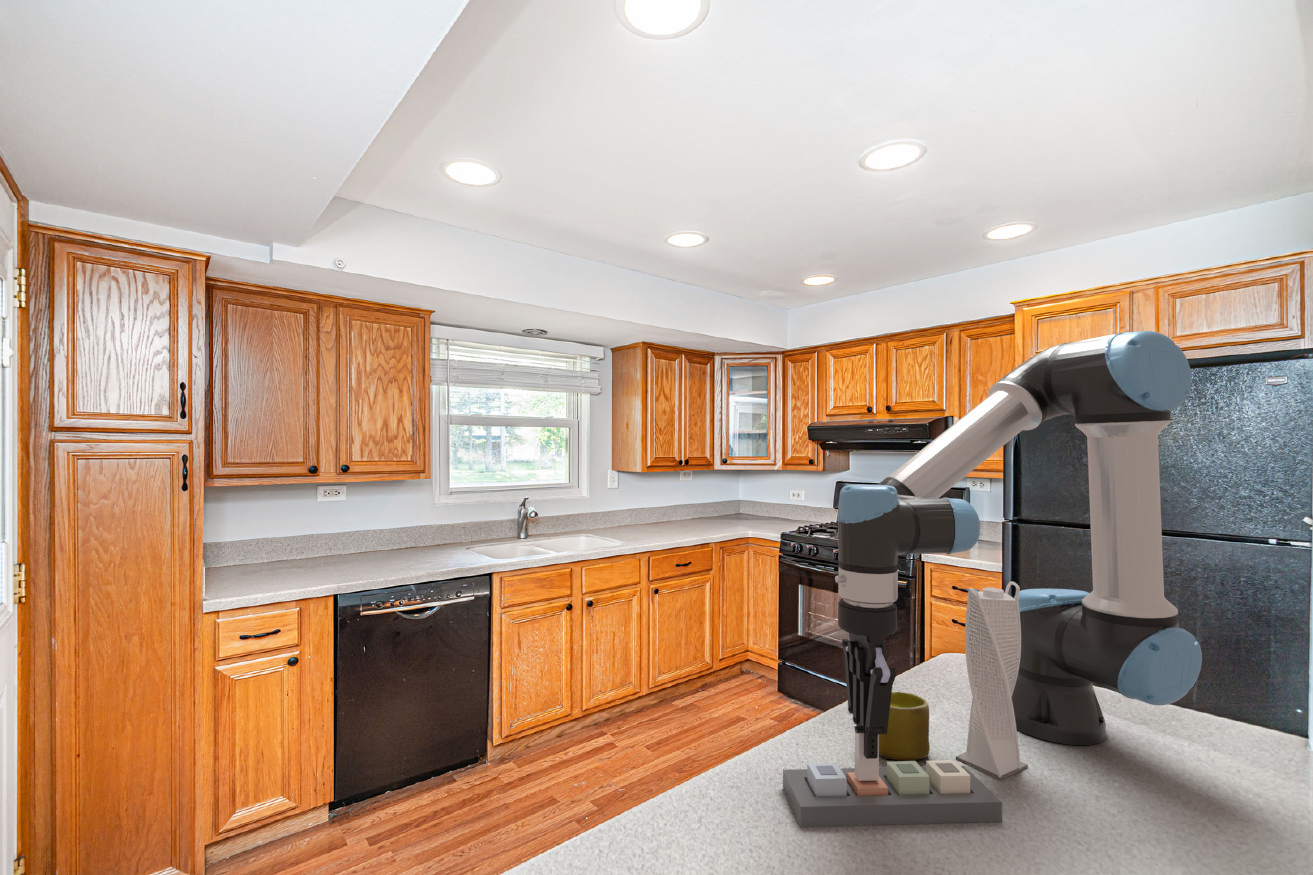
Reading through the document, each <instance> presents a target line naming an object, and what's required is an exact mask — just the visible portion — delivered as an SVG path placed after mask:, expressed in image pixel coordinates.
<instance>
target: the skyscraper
mask: <svg viewBox="0 0 1313 875" xmlns="http://www.w3.org/2000/svg"><path fill="white" fill-rule="evenodd" d="M1011 586H1014V587H1015V594H1014V596H1015V599H1014V597H1013V596H1012V595H1010V594H1009V593H1010V592H1009V591H1010V589H1011ZM1020 589H1021V588H1020V586H1019V585H1018V583H1016V582H1015V581H1014V580H1013V581H1009V582H1008V583H1007V585H1006V587H1005V591H1004V589H1002V588H996V587H983V588H982V591H980V590H979V591H977V590H976V589H975V588H973V587H972V586H971V587H969V589H968V591H967V592H968V593H967V602H966V613H965V629H964V631H965V632H964V646H965V647H964V650H965V652H964V653H965V662H966V669H967V675H968V681H969V687H970V691H971V695H972V698H971V706H970V707H971V708H970V714H969V721H968V731H967V732H968V733H967V740H966V741H967V743H966V751H965V752H962V753H960V754H957V755H956V756H955V760H957V761H959V762H961V763H963V764H965V765H967V766H970V767H971V768H974V769H976V770H978V771H980V772H983V773H984V774H987V775H988V776H991V777H993V778H995V779H997V780H998V781H999V780H1000V781H1002V780H1004V779H1006V778H1008V777H1010V776H1012V775H1015V774H1017V773H1019V772H1021V771H1023V770H1025V769H1027V768H1028V767H1029V766H1028V763H1026V762H1023V761H1021V756H1020V747H1019V740H1018V739H1019V738H1018V737H1019V736H1018V730H1017V729H1016V721H1015V715H1014V709H1013V703H1012V698H1011V697H1012V694H1013V691H1014V687H1015V684H1016V680H1017V675H1018V670H1019V665H1020V657H1021V623H1020V611H1019V601H1018V600H1019V591H1021V590H1020Z"/></svg>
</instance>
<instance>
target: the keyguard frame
mask: <svg viewBox="0 0 1313 875" xmlns="http://www.w3.org/2000/svg"><path fill="white" fill-rule="evenodd" d="M960 766H961V767H962V768H963V769H964V770H965V771H966V772H967V773H968V774H969V775H970V793H964V794H939V793H938V792H937V791H936V790H935V789H934V788H933V787H932V786H931V784H930V783H929V794H922V795H897V794H896V792H895V791H894V790H893V788H892V787H891V786H890V784H889V783H888V782H887V766H886V767H879V776H880V778H881V779H882V780H883V782H884V783H885V784H886V786H887V787H888V795H879V796H856V795H855V794H854V792H853V791H852V789H851V787H850V786H849V784H848V783H847V796H837V797H814V796H813V794H812V792H811V790H810V788H809V786H808V784H807V768H799V769H796V768H795V769H783V770H782V789H783V791H784V793H785V795H786V797H787V800H788V802H789V804H790V806H791V809H792V811H793V814H794V816H795V817H796V820H797V822H798V825H799V827H800V828H808V827H811V828H813V827H847V826H848V827H849V826H850V827H851V826H877V825H878V826H879V825H880V826H882V825H884V826H885V825H886V826H887V825H888V826H889V825H919V824H920V825H921V824H922V825H923V824H961V823H962V824H963V823H964V824H965V823H969V824H970V823H991V822H992V823H998V822H999V823H1002V822H1003V801H1002V800H1000V798H998V797H997V795H995V794H994V793H993V792H992V791H991V790H990V789H989V787H987V786H986V785H985V784H984V783H983V782H982V781H980V779H978V777H976V775H975V774H973V773H972V772H971V771H970V770H969V769H968V768H967V767H966V766H965V765H960ZM920 767H921V768H922V769H923V770H924V771H925V772H926V766H920ZM840 769H841V770H842V772H843V773H844V775H845V777H846V778H847V772H855V767H853V768H852V767H849V768H847V767H846V768H845V767H844V768H842V767H840Z"/></svg>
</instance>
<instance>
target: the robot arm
mask: <svg viewBox="0 0 1313 875" xmlns="http://www.w3.org/2000/svg"><path fill="white" fill-rule="evenodd" d="M1191 386H1192V372H1191V367H1190V364H1189V360H1188V358H1187V356H1186V355H1185V353H1184V352H1183V350H1182V348H1181V347H1180V346H1179V345H1178V344H1176V343H1175V342H1174V340H1173V339H1172V338H1170V337H1168V336H1167V335H1166V334H1164V333H1161V332H1157V331H1153V330H1140V331H1139V330H1138V331H1124V332H1117V333H1114V334H1110V335H1103V336H1100V337H1099V336H1098V337H1093V338H1088V339H1082V340H1079V341H1078V340H1077V341H1072V342H1071V341H1070V342H1064V343H1060V344H1056V345H1053V346H1051V347H1049V348H1046V349H1044V350H1042V351H1040V352H1038V353H1037V354H1034V355H1033V356H1031V357H1030V358H1028V359H1027V360H1025V361H1023V362H1022V363H1020V364H1019V365H1018V366H1017V367H1015V368H1014V369H1012V370H1011V371H1010V372H1008V373H1007V374H1005V375H1004V376H1002V378H1001V379H999V380H997V382H995V383H994V384H992V386H991V387H990V388H989V389H988V391H987V392H988V393H987V397H986V398H985V399H984V400H982V401H981V402H979V404H977V405H976V406H974V407H973V409H971V410H970V411H969V412H967V413H966V414H965V415H963V416H962V417H961V418H960V419H959V420H957V421H956V422H955V423H953V424H952V425H951V426H950V427H948V428H947V429H946V430H944V432H942V433H941V434H939V435H938V436H937V437H936V438H935V439H933V440H932V441H931V442H929V443H928V444H927V445H926V446H924V447H923V448H922V449H921V450H919V451H918V452H917V453H915V454H914V455H913V456H912V457H910V458H909V459H907V461H906V462H904V463H903V464H902V465H900V466H899V467H897V469H895V470H894V471H893V472H892V473H890V474H889V475H887V477H885V478H884V479H883V480H881V481H880V482H879V483H877V484H859V483H858V484H848V485H845V486H843V487H842V488H841V489H840V492H839V499H838V510H837V515H836V516H837V518H836V520H837V530H838V534H837V538H838V540H837V541H838V544H837V545H838V559H837V560H838V575H836V576H835V577H834V580H835V582H836V583H837V584H838V590H837V591H838V592H837V593H838V595H839V596H840V597H841V598H840V599H839V600H838V601H837V625H838V627H839V628H840V630H842V631H843V632H846V633H848V637H849V638H842V639H841V646H842V651H843V655H844V656H843V657H844V668H845V670H844V671H845V685H846V694H847V711H848V713H849V714H850V715H852V722H853V724H854V725H856V726H854V768H855V776H856V778H857V779H858V780H859V781H873V780H879V768H880V761H879V760H880V755H879V734H887V729H888V721H889V712H890V703H891V694H892V692H893V685H894V683H895V679H896V678H897V671H896V668H895V667H894V666H893V667H891V666H888V664H887V661H888V649H887V647H886V639H887V637H890V636H893V635H894V634H896V632H897V631H898V606H897V605H896V604H895V602H897V600H898V598H899V597H898V595H899V592H898V589H899V586H898V584H899V583H898V581H899V579H898V578H899V574H898V573H899V571H898V561H899V556H904V555H932V554H933V555H935V554H937V555H938V554H939V555H940V554H946V555H951V554H956V553H961V552H962V553H963V552H967V551H969V550H971V549H972V548H974V546H976V544H977V542H978V540H979V538H980V535H981V531H980V530H981V527H980V524H981V521H980V518H979V514H978V513H977V510H976V509H975V508H974V506H973V505H972V504H971V503H970V502H968V501H967V500H964V499H962V498H950V497H942V496H944V494H945V493H947V492H948V491H949V490H951V488H953V487H954V486H955V485H957V484H958V483H959V482H960V481H962V480H963V479H964V478H965V477H967V476H968V475H969V474H970V473H971V472H973V471H974V470H975V469H976V468H977V467H979V466H980V465H981V464H982V463H984V462H985V461H986V460H988V459H989V458H990V457H991V456H993V455H994V454H995V453H996V452H997V451H999V450H1000V449H1001V448H1002V447H1004V446H1005V445H1006V444H1007V443H1009V441H1011V440H1013V439H1014V437H1016V436H1017V435H1019V433H1021V432H1022V431H1031V430H1034V429H1036V428H1037V427H1038V426H1039V425H1042V423H1044V422H1045V421H1047V420H1050V419H1053V418H1055V417H1059V416H1064V415H1072V414H1073V415H1074V416H1073V417H1074V426H1075V427H1076V428H1077V429H1078V430H1079V431H1081V432H1082V433H1083V434H1084V435H1085V436H1086V438H1087V440H1086V441H1087V444H1086V446H1087V463H1088V464H1087V467H1088V485H1089V486H1088V491H1089V492H1088V493H1089V513H1090V514H1089V516H1090V518H1089V519H1090V520H1089V521H1090V522H1089V523H1090V543H1091V544H1090V546H1091V568H1092V570H1091V571H1092V573H1091V574H1092V591H1091V592H1088V591H1086V590H1085V591H1084V590H1078V589H1066V588H1029V589H1028V588H1027V589H1022V590H1020V591H1019V600H1018V601H1019V611H1020V623H1021V657H1020V665H1019V670H1018V675H1017V680H1016V684H1015V687H1014V691H1013V694H1012V697H1011V698H1012V703H1013V709H1014V715H1015V721H1016V729H1017V731H1019V732H1021V733H1023V734H1025V735H1028V736H1031V737H1034V738H1037V739H1040V740H1042V741H1043V740H1044V741H1047V742H1052V743H1058V744H1064V745H1071V746H1072V745H1074V746H1092V745H1097V744H1099V743H1102V742H1103V741H1105V740H1106V739H1107V738H1106V737H1107V725H1106V720H1105V717H1104V715H1103V711H1102V708H1101V705H1100V702H1099V700H1098V698H1097V695H1096V692H1095V688H1094V684H1096V685H1097V686H1101V687H1103V688H1105V689H1108V690H1110V691H1113V692H1115V693H1118V694H1120V695H1121V696H1123V697H1125V698H1127V699H1130V700H1137V701H1140V702H1143V703H1145V704H1148V705H1150V706H1151V705H1152V706H1167V705H1171V704H1174V703H1176V702H1177V701H1179V700H1181V699H1182V698H1183V697H1184V696H1186V695H1187V694H1188V693H1189V692H1190V689H1192V688H1193V687H1194V685H1195V683H1196V682H1197V680H1198V678H1199V675H1200V672H1201V669H1202V664H1203V652H1202V649H1201V644H1200V642H1199V641H1198V640H1196V637H1195V635H1193V634H1192V633H1191V632H1189V631H1188V630H1186V629H1185V628H1181V627H1180V626H1179V610H1178V608H1177V607H1176V606H1175V605H1174V604H1173V603H1171V601H1169V600H1168V599H1167V598H1166V597H1165V588H1164V587H1165V586H1164V584H1165V583H1164V582H1165V581H1164V561H1163V560H1164V559H1163V536H1162V535H1163V533H1162V532H1163V530H1162V507H1161V506H1162V505H1161V504H1162V503H1161V483H1160V480H1161V479H1160V456H1159V452H1160V451H1159V434H1160V433H1161V432H1162V431H1163V430H1164V429H1165V428H1166V427H1167V426H1168V425H1170V424H1171V423H1172V421H1171V420H1172V419H1171V410H1173V409H1174V410H1175V409H1176V408H1178V407H1179V406H1180V405H1182V404H1183V403H1184V402H1185V401H1186V400H1187V394H1189V393H1190V390H1191V388H1192V387H1191ZM941 497H942V498H941ZM1013 598H1014V599H1015V595H1014V597H1013Z"/></svg>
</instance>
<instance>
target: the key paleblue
mask: <svg viewBox="0 0 1313 875" xmlns="http://www.w3.org/2000/svg"><path fill="white" fill-rule="evenodd" d="M840 768H841V767H840V766H839V764H838V763H837V762H809V763H808V762H807V768H806V769H807V784H808V786H809V788H810V790H811V792H812V794H813V796H814V797H837V796H847V778H846V777H845V775H844V773H843V772H842V770H841V769H840Z"/></svg>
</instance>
